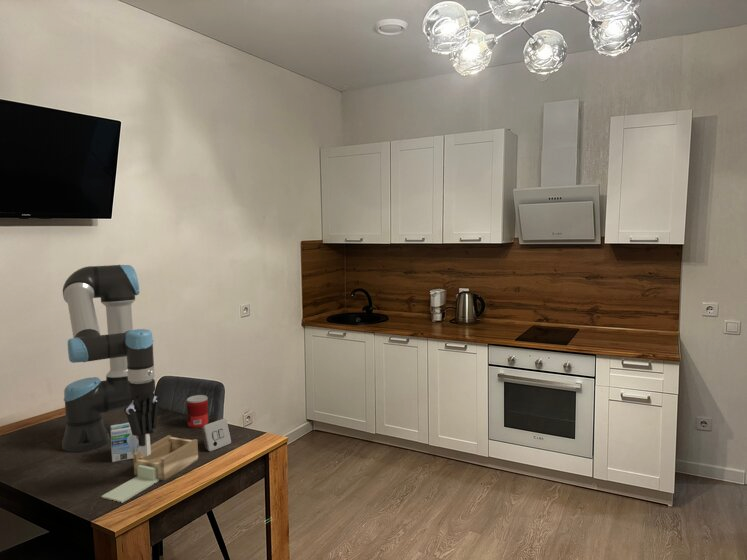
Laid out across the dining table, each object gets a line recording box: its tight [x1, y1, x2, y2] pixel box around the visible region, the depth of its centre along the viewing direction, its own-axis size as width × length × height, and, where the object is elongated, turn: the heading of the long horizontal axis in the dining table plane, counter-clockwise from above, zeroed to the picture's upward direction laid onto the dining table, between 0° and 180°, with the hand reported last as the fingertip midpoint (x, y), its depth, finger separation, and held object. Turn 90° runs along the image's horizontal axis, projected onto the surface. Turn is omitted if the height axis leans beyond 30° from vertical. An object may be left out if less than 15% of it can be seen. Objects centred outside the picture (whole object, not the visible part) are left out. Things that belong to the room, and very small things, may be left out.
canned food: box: [186, 394, 210, 429], centre depth 209 cm, size 8×8×11 cm
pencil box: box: [132, 434, 199, 482], centre depth 172 cm, size 12×16×7 cm
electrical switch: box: [200, 418, 232, 452], centre depth 189 cm, size 9×5×9 cm, turn 141°
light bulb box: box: [110, 422, 140, 463], centre depth 181 cm, size 11×7×11 cm, turn 118°
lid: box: [101, 465, 160, 504], centre depth 158 cm, size 8×14×4 cm, turn 158°
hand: (145, 454), depth 163 cm, fingers closed
